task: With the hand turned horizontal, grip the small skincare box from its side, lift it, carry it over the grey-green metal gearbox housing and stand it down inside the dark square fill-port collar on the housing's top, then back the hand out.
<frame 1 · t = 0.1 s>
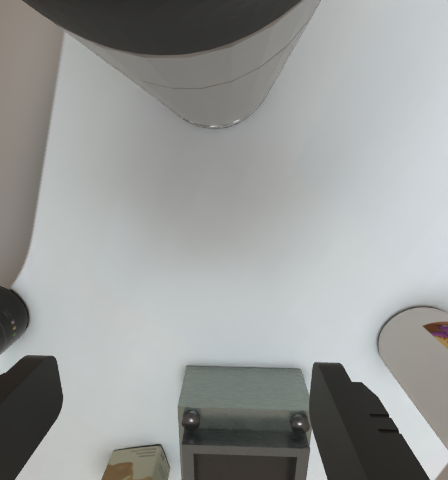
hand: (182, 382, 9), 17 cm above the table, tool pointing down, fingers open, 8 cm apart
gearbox: (241, 425, 32), on the table
milk bottle: (413, 337, 28), on the table
skincare box: (141, 457, 34), on the table
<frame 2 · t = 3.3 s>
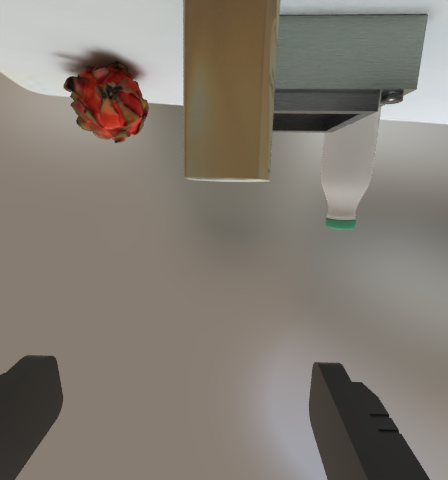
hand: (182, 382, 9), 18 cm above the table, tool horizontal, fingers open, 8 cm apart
dragon fruit: (107, 67, 32), on the table
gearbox: (299, 50, 27), on the table
milk bottle: (353, 98, 43), on the table
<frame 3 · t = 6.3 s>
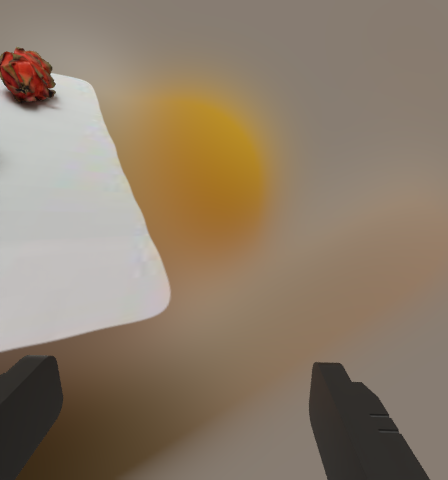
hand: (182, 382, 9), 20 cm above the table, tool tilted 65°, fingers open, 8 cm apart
dragon fruit: (29, 98, 54), on the table
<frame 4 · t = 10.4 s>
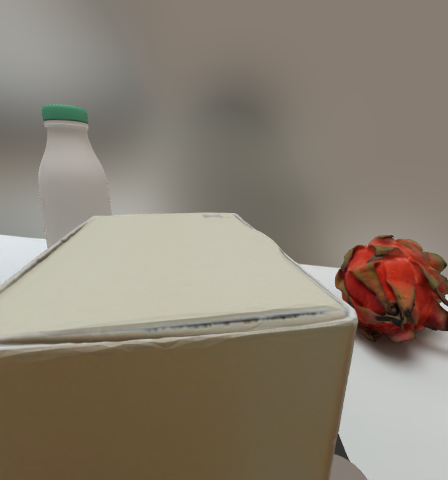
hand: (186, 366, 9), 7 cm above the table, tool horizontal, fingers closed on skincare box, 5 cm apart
dragon fruit: (383, 327, 25), on the table
milk bottle: (86, 272, 37), on the table
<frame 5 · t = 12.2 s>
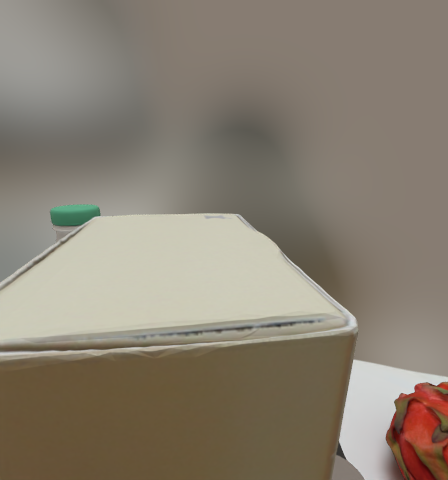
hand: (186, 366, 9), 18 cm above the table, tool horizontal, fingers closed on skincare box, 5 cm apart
milk bottle: (97, 370, 34), on the table
when the fingers open (13 cm above the table, at t = 14.2 s): skincare box stays where it is, resting on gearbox.
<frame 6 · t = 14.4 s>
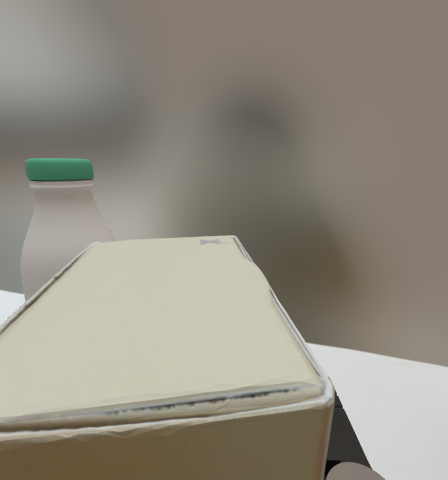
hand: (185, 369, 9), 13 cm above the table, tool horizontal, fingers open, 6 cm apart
milk bottle: (90, 375, 27), on the table
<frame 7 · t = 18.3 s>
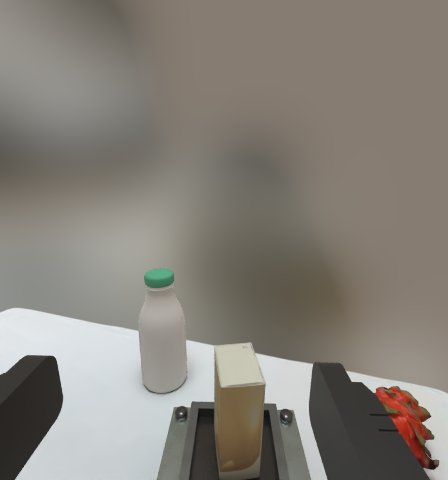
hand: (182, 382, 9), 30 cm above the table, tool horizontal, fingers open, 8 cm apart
dragon fruit: (389, 451, 37), on the table
milk bottle: (165, 378, 50), on the table
skincare box: (235, 454, 31), point 5 cm above the table, touching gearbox
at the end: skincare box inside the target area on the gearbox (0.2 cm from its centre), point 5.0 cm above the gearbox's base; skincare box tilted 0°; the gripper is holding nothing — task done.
